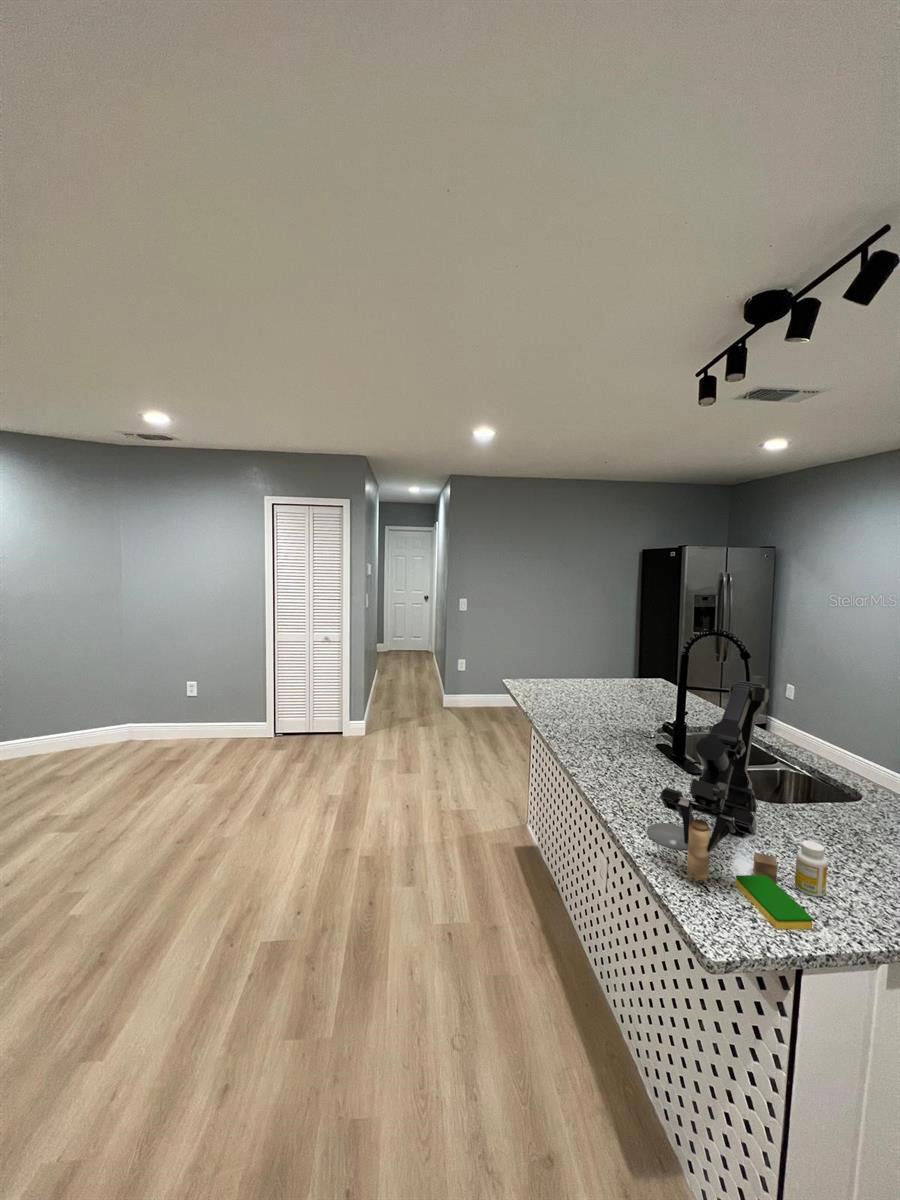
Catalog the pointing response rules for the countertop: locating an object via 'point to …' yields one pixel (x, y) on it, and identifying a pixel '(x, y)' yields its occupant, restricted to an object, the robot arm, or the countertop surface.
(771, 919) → the dish sponge
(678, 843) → the slate coaster
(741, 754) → the robot arm
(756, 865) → the walnut block
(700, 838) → the brown cylinder
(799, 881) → the supplement bottle
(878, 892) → the countertop surface
